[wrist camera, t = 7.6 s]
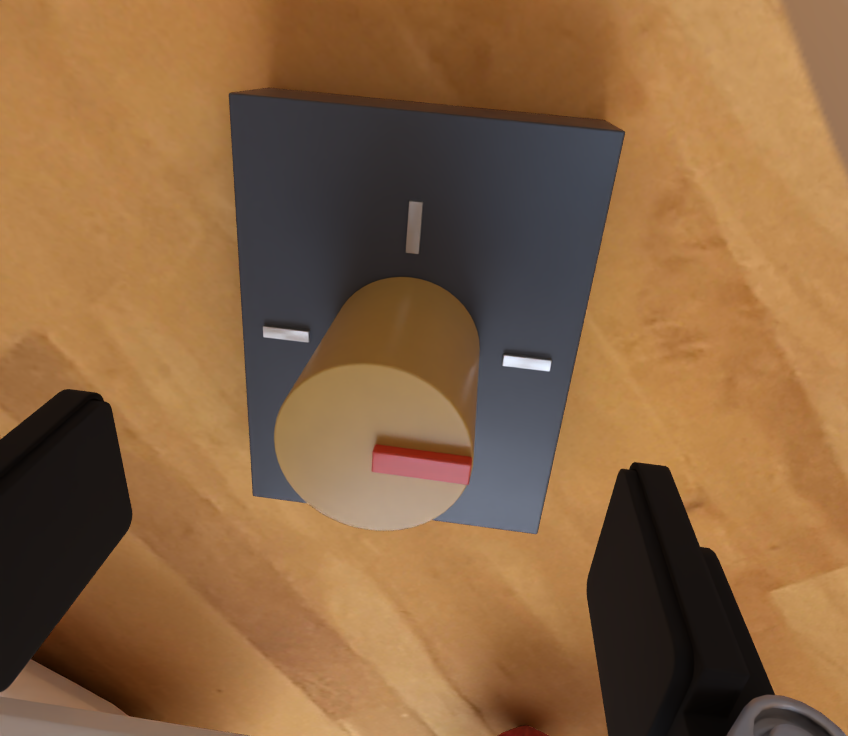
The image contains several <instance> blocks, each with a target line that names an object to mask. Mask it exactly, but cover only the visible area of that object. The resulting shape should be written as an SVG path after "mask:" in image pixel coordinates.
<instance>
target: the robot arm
mask: <svg viewBox="0 0 848 736" xmlns="http://www.w3.org/2000/svg"><path fill="white" fill-rule="evenodd" d="M131 520H132V508H131V503H130V498H129V493H128V488H127V483H126V478H125V473H124V468H123V463H122V458H121V453H120V448H119V443H118V438H117V433H116V428H115V423H114V418H113V413H112V409H111V406H110V404H109V403H107V402H104V400H103V398H102V396H101V395H100V394H98V393H94V392H87V391H79V390H71V389H66V390H63V391H61V392H59V393H58V394H57V395H55V396H54V397H53V398H52V399H50V400H49V401H48V402H47V403H45V404H44V405H43V406H42V407H40V408H39V409H38V410H37V411H36V412H34V413H33V414H32V415H31V416H29V417H28V418H27V419H26V420H24V421H23V422H22V423H21V424H19V425H18V426H17V427H16V428H14V429H13V430H12V431H11V432H9V433H8V434H7V435H6V436H4V437H3V438H2V439H1V440H0V692H2V691H4V690H6V689H7V688H8V687H9V686H10V685H11V684H12V683H13V682H14V680H15V679H16V678H17V676H18V675H19V674H20V672H21V671H22V670H23V668H24V667H25V666H26V664H27V663H28V662H29V660H30V659H31V658H32V656H33V655H34V654H35V653H36V651H37V650H38V649H39V647H40V646H41V645H42V643H43V642H44V641H45V639H46V638H47V637H48V635H49V634H50V633H51V631H52V630H53V629H54V627H55V626H56V625H57V623H58V622H59V621H60V619H61V618H62V617H63V616H64V614H65V613H66V612H67V610H68V609H69V608H70V606H71V605H72V604H73V602H74V601H75V600H76V598H77V597H78V596H79V594H80V593H81V592H82V590H83V589H84V588H85V586H86V585H87V584H88V582H89V581H90V580H91V578H92V577H93V576H94V575H95V573H96V572H97V571H98V569H99V568H100V567H101V565H102V564H103V563H104V561H105V560H106V559H107V557H108V556H109V555H110V553H111V552H112V551H113V549H114V548H115V547H116V545H117V544H118V543H119V541H120V540H121V539H122V538H123V536H124V535H125V534H126V532H127V531H128V529H129V527H130V524H131ZM587 600H588V607H589V613H590V619H591V626H592V632H593V639H594V645H595V652H596V658H597V665H598V671H599V678H600V684H601V691H602V697H603V704H604V710H605V717H606V723H607V729H608V736H846V735H845V734H844V732H843V731H842V730H841V729H840V728H839V727H838V726H837V725H836V724H834V723H833V722H832V721H831V720H829V719H828V718H827V717H826V716H825V715H823V714H822V713H821V712H819V711H817V710H815V709H814V708H812V707H810V706H808V705H806V704H805V703H803V702H800V701H797V700H794V699H791V698H788V697H785V696H778V695H775V694H774V691H773V689H772V686H771V684H770V682H769V679H768V677H767V674H766V672H765V670H764V667H763V665H762V662H761V660H760V658H759V655H758V653H757V650H756V648H755V646H754V643H753V641H752V638H751V636H750V634H749V631H748V629H747V626H746V624H745V622H744V619H743V617H742V615H741V612H740V610H739V607H738V605H737V603H736V600H735V598H734V595H733V593H732V591H731V588H730V586H729V583H728V581H727V579H726V576H725V574H724V571H723V569H722V567H721V564H720V562H719V560H718V558H717V556H716V554H715V553H714V552H713V551H712V550H711V549H710V548H704V547H700V546H699V543H698V541H697V538H696V536H695V533H694V530H693V528H692V525H691V523H690V520H689V518H688V515H687V513H686V510H685V507H684V505H683V502H682V500H681V497H680V495H679V492H678V490H677V487H676V485H675V482H674V479H673V477H672V474H671V472H670V470H669V468H668V467H666V466H660V465H653V464H645V463H637V462H634V463H632V465H631V466H630V469H629V470H627V469H621V470H620V471H619V473H618V476H617V479H616V483H615V486H614V489H613V493H612V496H611V500H610V503H609V506H608V510H607V513H606V517H605V520H604V523H603V527H602V530H601V534H600V537H599V541H598V544H597V547H596V551H595V554H594V558H593V561H592V564H591V568H590V571H589V575H588V579H587ZM0 736H248V735H242V734H236V733H230V732H223V731H217V730H211V729H205V728H198V727H192V726H186V725H180V724H173V723H167V722H161V721H155V720H148V719H142V718H136V717H130V716H123V715H117V714H111V713H104V712H98V711H91V710H85V709H78V708H72V707H65V706H59V705H52V704H46V703H40V702H33V701H27V700H20V699H14V698H7V697H1V696H0Z"/></svg>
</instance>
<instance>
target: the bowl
mask: <svg viewBox="0 0 848 736" xmlns="http://www.w3.org/2000/svg"><path fill="white" fill-rule="evenodd" d="M0 696H1V697H7V698H14V699H20V700H27V701H33V702H40V703H46V704H52V705H59V706H65V707H72V708H78V709H85V710H91V711H98V712H104V713H111V714H117V715H123V716H128V715H127V714H125V713H124V712H123V711H121V710H120V709H119V708H118V707H116V706H115V705H113V704H112V703H110V702H108V701H106V700H105V699H103V698H101V697H99V696H97V695H96V694H94V693H92V692H90V691H88V690H87V689H85V688H83V687H81V686H79V685H78V684H76V683H74V682H72V681H70V680H69V679H67V678H65V677H63V676H61V675H59V674H57V673H56V672H54V671H52V670H50V669H48V668H46V667H44V666H43V665H41V664H39V663H37V662H35V661H33V660H31V659H30V660H29V662H28V663H27V664H26V666H25V667H24V668H23V670H22V671H21V672H20V674H19V675H18V676H17V678H16V679H15V680H14V682H13V683H12V684H11V685H10V686H9V687H8V688H7V689H6V690H4V691H2V692H0Z"/></svg>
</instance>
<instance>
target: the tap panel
mask: <svg viewBox="0 0 848 736" xmlns="http://www.w3.org/2000/svg"><path fill="white" fill-rule="evenodd" d="M229 105H230V122H231V138H232V155H233V172H234V188H235V205H236V222H237V238H238V255H239V272H240V288H241V305H242V322H243V338H244V355H245V372H246V388H247V405H248V422H249V438H250V455H251V472H252V488H253V496H257V497H265V498H272V499H280V500H287V501H295V502H302V503H307V502H306V501H304V500H303V499H302V498H301V497H300V496H299V495H298V494H297V493H296V492H295V490H294V489H293V488H292V486H291V485H290V484H289V482H288V481H287V479H286V477H285V476H284V474H283V472H282V470H281V467H280V465H279V463H278V459H277V456H276V452H275V444H274V428H275V423H276V418H277V415H278V413H279V410H280V408H281V406H282V404H283V402H284V401H285V399H286V397H287V396H288V394H289V392H290V391H291V389H292V388H293V386H294V384H295V383H296V381H297V379H298V378H299V376H300V375H301V373H302V371H303V370H304V368H305V366H306V365H307V363H308V362H309V360H310V358H311V357H312V355H313V354H314V352H315V350H316V349H317V347H318V345H319V344H320V342H321V341H322V339H323V337H324V336H325V334H326V332H327V331H328V329H329V328H330V326H331V324H332V323H333V321H334V319H335V318H336V316H337V315H338V313H339V311H340V310H341V308H342V307H343V305H344V304H345V303H346V301H347V300H348V299H349V298H350V297H351V296H352V295H353V294H354V293H355V292H357V291H358V290H360V289H361V288H362V287H364V286H366V285H368V284H370V283H372V282H375V281H378V280H381V279H386V278H391V277H412V278H417V279H422V280H425V281H428V282H431V283H433V284H436V285H438V286H440V287H442V288H443V289H445V290H447V291H448V292H450V293H451V294H452V295H453V296H454V297H456V298H457V299H458V300H459V301H460V302H461V303H462V304H463V305H464V307H465V308H466V310H467V311H468V312H469V314H470V316H471V318H472V319H473V321H474V324H475V326H476V329H477V332H478V337H479V346H480V352H479V370H478V388H477V406H476V424H475V442H474V459H473V468H472V472H471V476H470V481H469V484H468V485H467V486H466V488H465V489H464V491H463V493H462V494H461V496H460V497H459V498H458V499H457V501H456V502H455V503H454V504H453V505H452V506H451V507H450V508H449V509H448V510H446V511H445V512H444V513H442V514H441V515H439V516H438V517H436V518H435V519H433V520H435V521H443V522H450V523H458V524H465V525H473V526H480V527H487V528H495V529H502V530H510V531H517V532H524V533H532V534H537V533H538V529H539V524H540V519H541V515H542V510H543V506H544V501H545V497H546V492H547V487H548V483H549V478H550V474H551V469H552V465H553V460H554V455H555V451H556V446H557V442H558V437H559V433H560V428H561V423H562V419H563V414H564V410H565V405H566V401H567V396H568V391H569V387H570V382H571V378H572V373H573V369H574V364H575V359H576V355H577V350H578V346H579V341H580V337H581V332H582V327H583V323H584V318H585V314H586V309H587V305H588V300H589V295H590V291H591V286H592V282H593V277H594V273H595V268H596V263H597V259H598V254H599V250H600V245H601V241H602V236H603V231H604V227H605V222H606V218H607V213H608V209H609V204H610V199H611V195H612V190H613V186H614V181H615V177H616V172H617V167H618V163H619V158H620V154H621V149H622V145H623V140H624V135H625V132H624V131H623V130H621V129H619V128H617V127H616V126H614V125H612V124H610V123H609V122H607V121H605V120H598V119H588V118H578V117H567V116H557V115H546V114H536V113H526V112H515V111H505V110H495V109H484V108H474V107H464V106H453V105H443V104H432V103H422V102H412V101H401V100H391V99H381V98H370V97H360V96H349V95H339V94H329V93H318V92H308V91H298V90H287V89H277V88H262V89H254V90H247V91H239V92H231V93H229Z"/></svg>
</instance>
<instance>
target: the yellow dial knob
mask: <svg viewBox="0 0 848 736" xmlns="http://www.w3.org/2000/svg"><path fill="white" fill-rule="evenodd" d="M479 352H480V346H479V337H478V332H477V329H476V326H475V324H474V321H473V319H472V318H471V316H470V314H469V312H468V311H467V310H466V308H465V307H464V305H463V304H462V303H461V302H460V301H459V300H458V299H457V298H456V297H454V296H453V295H452V294H451V293H450V292H448V291H447V290H445V289H443V288H442V287H440V286H438V285H436V284H433V283H431V282H428V281H425V280H422V279H417V278H412V277H391V278H386V279H381V280H378V281H375V282H372V283H370V284H368V285H366V286H364V287H362V288H361V289H360V290H358V291H357V292H355V293H354V294H353V295H352V296H351V297H350V298H349V299H348V300H347V301H346V303H345V304H344V305H343V307H342V308H341V310H340V311H339V313H338V315H337V316H336V318H335V319H334V321H333V323H332V324H331V326H330V328H329V329H328V331H327V332H326V334H325V336H324V337H323V339H322V341H321V342H320V344H319V345H318V347H317V349H316V350H315V352H314V354H313V355H312V357H311V358H310V360H309V362H308V363H307V365H306V366H305V368H304V370H303V371H302V373H301V375H300V376H299V378H298V379H297V381H296V383H295V384H294V386H293V388H292V389H291V391H290V392H289V394H288V396H287V397H286V399H285V401H284V402H283V404H282V406H281V408H280V410H279V413H278V415H277V418H276V423H275V428H274V444H275V452H276V456H277V459H278V463H279V465H280V467H281V470H282V472H283V474H284V476H285V477H286V479H287V481H288V482H289V484H290V485H291V486H292V488H293V489H294V490H295V492H296V493H297V494H298V495H299V496H300V497H301V498H302V499H303V500H304V501H306V502H307V503H308V504H309V505H310V506H312V507H313V508H314V509H316V510H317V511H319V512H320V513H322V514H324V515H325V516H327V517H329V518H331V519H333V520H335V521H338V522H340V523H343V524H346V525H349V526H352V527H356V528H361V529H366V530H375V531H394V530H403V529H408V528H412V527H416V526H419V525H421V524H424V523H427V522H429V521H431V520H433V519H435V518H436V517H438V516H439V515H441V514H442V513H444V512H445V511H446V510H448V509H449V508H450V507H451V506H452V505H453V504H454V503H455V502H456V501H457V499H458V498H459V497H460V496H461V494H462V493H463V491H464V489H465V488H466V486H467V485H468V484H469V481H470V476H471V472H472V468H473V459H474V442H475V424H476V406H477V388H478V370H479Z"/></svg>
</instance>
